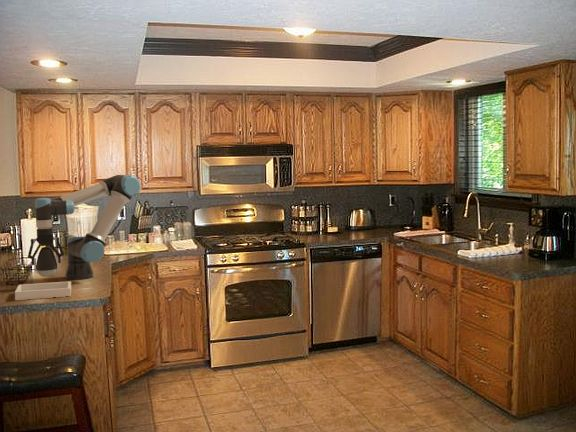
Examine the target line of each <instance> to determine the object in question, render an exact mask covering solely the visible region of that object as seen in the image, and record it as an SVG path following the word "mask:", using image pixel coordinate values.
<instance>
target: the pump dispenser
mask: <svg viewBox="0 0 576 432" xmlns="http://www.w3.org/2000/svg"><path fill="white" fill-rule="evenodd" d="M38 252H39V253H37V254H38V255H37V258H36V270H37V271H36V272H37V274H38V275H39V277H40V276H41V277H51V276H54V275H55V274H56V272H57V271H58V270H57V258H56V256H55V254H54V253H55V252H54V250H53V249H52V248H51V247H50V246H41V247H40V249H39V251H38Z"/></svg>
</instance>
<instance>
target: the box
mask: <svg viewBox="0 0 576 432" xmlns="http://www.w3.org/2000/svg"><path fill="white" fill-rule="evenodd" d="M66 296H69V297H71V296H72V281H71V280H70V281H58V282H57V281H56V282H54V281H53V282H42V283H40V282H39V283H24V284H18V286H17V287H16V289H15V291H14V300H15V301H25V300H26V301H29V300H41V298H42V299H52V298H53V297H56V298H67V297H66ZM28 299H29V300H28Z"/></svg>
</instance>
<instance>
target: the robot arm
mask: <svg viewBox="0 0 576 432" xmlns="http://www.w3.org/2000/svg"><path fill="white" fill-rule="evenodd" d="M140 190H141V183H140V180H139V178H137V176H135V175H131V174H116V175H112V176H111V177H108V178H106V179H105V178H104V179H103V180H100V181H99V183H97V184H94V185H90V186H88V187H84V188H82V189H79V190H76V191H74V192H73V191H72V192H71V193H68V194H65V195H62V196H58V197H55V198H53V199H51V198H49V197H40V198H39V197H38V198H36V199H35V200H34V211H35V212H34V213H35V225H36V226H35V228H37V229H36V238H31V239H30V247H29V250H28V253H27V254H28V255H27V258H28V259H31V265H33V266H34V272H37V270H36V264H37V258H36V256H37V254H38V252H39V251H40V249H41V248H42V247H49V248H50V249H51V250H52V251H53V253H55V254H56V262H57V270H56V271H59V270H60V264H61V262H62V259H61V257H63V256H65V252H64V250H63V248H62V245H61V242H60V236H57V237H54V236H53V228H52V227H53V220H52V218H53V217H52V216H55V217H56V216H65V215H67V216H68V215H72V214H74V212H75V209H76V208H75V207H77V206H79V205H82V204H84V203H85V204H86V203H88V202H91V201H93V200H96V199H99V198H102V197H110V196H111V197H110V198H109V200H108V202H107V203H106V205H105V207H104V208H103V210H102V212H101V214H100V216H99V217H98V219H97V220H96V223H95V224H94V226H93V227H92V230H91V231H90V232H88V233H85V236H84V235H83V236H74V237H68V238H67V241H66V242H67V243H66V247H67V249H66V251H67V267H66V271H65V274H64V276H65V277H64V278H65V280H74V281H75V280H85V279H90V278H93V277H94V271H93V267H92V266H91V263H96V262H98V261H100V260H101V259H102V258H103V257H104V255H105V247H106V244H107V243H106V242H107V241H106V239H107V237H108V235H109V233H110V232H111V229H112V228H113V226H114V224H115V222H116V221H117V219H118V218H119V216H120V214H121V212H122V211H123V208H124V207H125V206H126V204H127V203H130V202H131V200H132V198H133V197H134V196H136V195H137V194H139V192H140ZM53 241H55V242H56V245H57V247H58V249H59V251H58V250H57V248H56V247H55V245H54V244H53ZM36 242H37V243H38V245H37V247H36V249H35V250H34V252H33V248H34V244H35V243H36ZM32 253H33V254H32Z"/></svg>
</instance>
